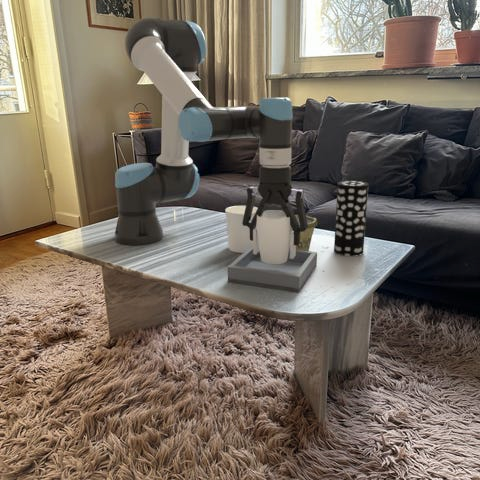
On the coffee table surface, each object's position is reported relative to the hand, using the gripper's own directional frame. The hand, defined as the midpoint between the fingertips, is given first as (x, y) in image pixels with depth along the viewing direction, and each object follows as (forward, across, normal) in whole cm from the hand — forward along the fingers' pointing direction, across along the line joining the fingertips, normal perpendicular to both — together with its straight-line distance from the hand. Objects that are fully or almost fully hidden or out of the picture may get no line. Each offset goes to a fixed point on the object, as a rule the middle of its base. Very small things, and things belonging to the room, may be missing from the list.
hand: (274, 254), depth 115 cm
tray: (+5, 0, 0) cm, 5 cm away
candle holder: (+5, -15, +16) cm, 23 cm away
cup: (+2, 0, 0) cm, 2 cm away
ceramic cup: (+5, +2, +19) cm, 20 cm away
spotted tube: (+5, +15, +24) cm, 29 cm away
